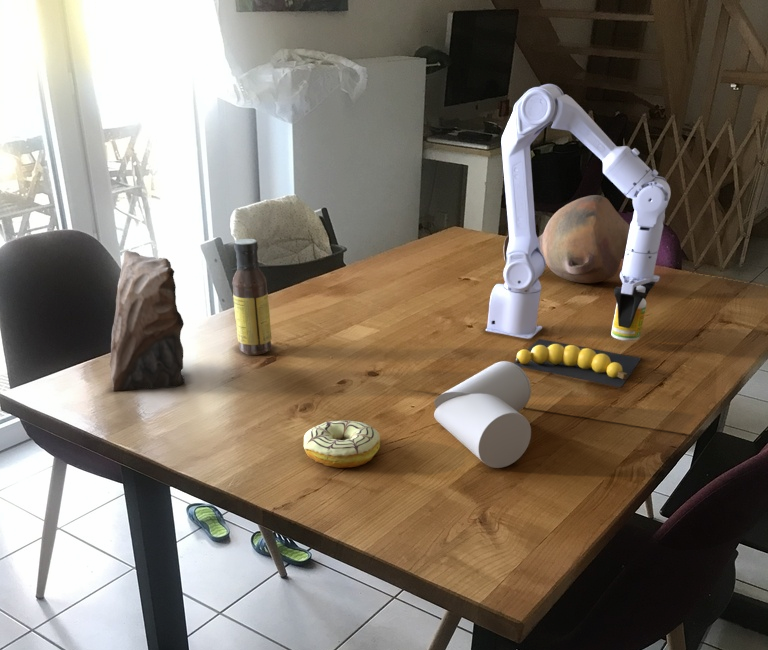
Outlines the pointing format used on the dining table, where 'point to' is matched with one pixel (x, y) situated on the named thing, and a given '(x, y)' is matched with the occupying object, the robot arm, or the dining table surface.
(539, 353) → the yellow lumpy bar
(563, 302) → the dining table surface
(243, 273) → the sauce bottle
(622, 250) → the jug
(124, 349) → the brown rock
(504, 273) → the robot arm
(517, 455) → the bent grey cylinder
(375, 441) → the decorated donut
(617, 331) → the supplement bottle
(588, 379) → the placemat
